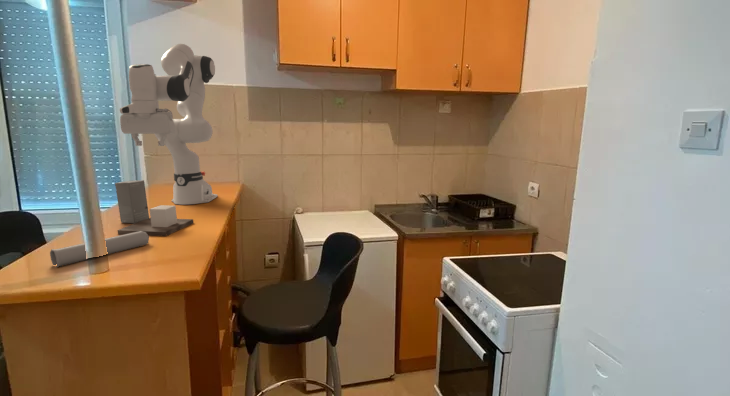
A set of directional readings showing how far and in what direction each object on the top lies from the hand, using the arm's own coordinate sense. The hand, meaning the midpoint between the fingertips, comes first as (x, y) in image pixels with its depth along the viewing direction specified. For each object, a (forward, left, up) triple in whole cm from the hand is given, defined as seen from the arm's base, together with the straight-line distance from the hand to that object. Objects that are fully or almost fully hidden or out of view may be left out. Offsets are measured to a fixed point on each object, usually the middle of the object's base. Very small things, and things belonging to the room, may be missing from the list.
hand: (150, 145), depth 150 cm
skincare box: (+3, -8, -29) cm, 31 cm away
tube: (+39, +10, -30) cm, 50 cm away
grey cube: (+12, +11, -28) cm, 32 cm away
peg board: (+12, +8, -29) cm, 32 cm away
